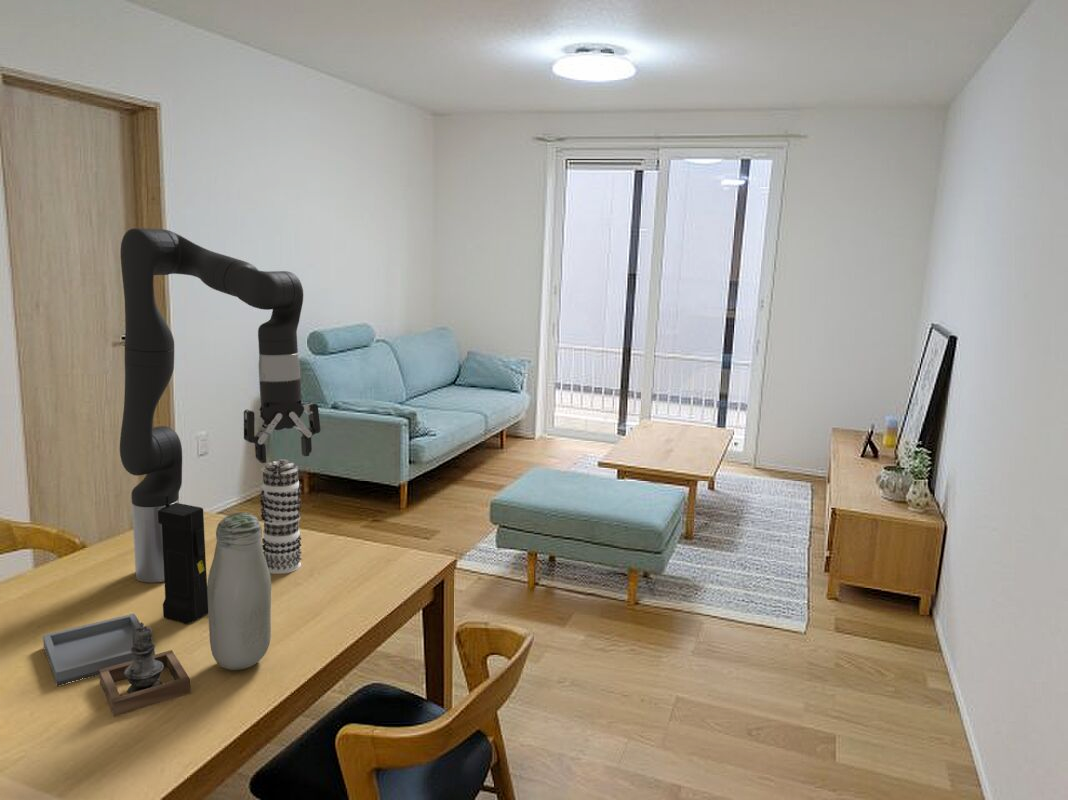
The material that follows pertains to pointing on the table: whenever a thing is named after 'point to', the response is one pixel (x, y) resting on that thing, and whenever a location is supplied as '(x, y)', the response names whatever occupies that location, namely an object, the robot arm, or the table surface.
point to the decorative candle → (281, 516)
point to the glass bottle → (239, 594)
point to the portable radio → (184, 562)
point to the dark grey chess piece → (143, 662)
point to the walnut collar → (145, 696)
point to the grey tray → (90, 648)
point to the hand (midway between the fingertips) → (284, 458)
